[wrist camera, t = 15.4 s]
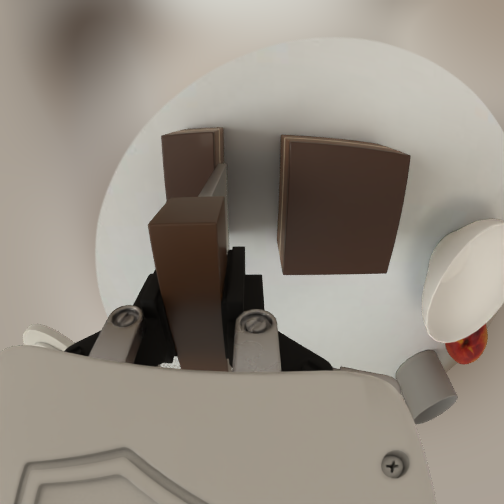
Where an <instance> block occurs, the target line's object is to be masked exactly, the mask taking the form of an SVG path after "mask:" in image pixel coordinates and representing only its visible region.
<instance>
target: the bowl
mask: <svg viewBox="0 0 504 504" xmlns="http://www.w3.org/2000/svg"><path fill="white" fill-rule="evenodd" d="M503 303H504V221H502V220H499V219H485V220H479V221H475V222H473V223H471V224H469V225H467V226H465V227H463V228H461V229H459V230H458V231H454V232H452V233H450V234H448V235H447V236H445V237H444V238H443V239H442V240H441V241H440V242H439V243H438V245H437V246H436V248H435V249H434V251H433V253H432V255H431V258H430V261H429V266H428V273H427V276H426V280H425V284H424V289H423V293H422V316H423V321H424V324H425V327H426V330H427V332H428V334H429V336H430V337H431V338H433V339H434V340H435V341H437V342H441V343H450V342H455V341H458V340H461V339H463V338H466V337H467V336H469V335H471V334H472V333H474V332H476V331H477V330H478V329H480V328H481V327H482V326H483V325H484V324H486V323H487V322H488V321H489V320H490V319H491V318H492V317H493V316H494V314H495V313H496V312H497V311H498V310H499V309H500V307H501V306H502V304H503Z"/></svg>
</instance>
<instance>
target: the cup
mask: <svg viewBox="0 0 504 504" xmlns="http://www.w3.org/2000/svg"><path fill="white" fill-rule="evenodd" d="M396 379H397V382H398V383H399V385H400V389H401V392H402V395H403V397H404V400H405V403H406V405H407V407H408V409H409V411H410V413H411V415H412V418H413V420H414V422H415V424H420V423H424V422H427V421H429V420H431V419H433V418H435V417H437V416H439V415H440V414H442V413H443V412H445V411H446V410H447V409H449V408H450V407H451V406H452V405H453V404H454V403H455V402H456V400H457V398H458V396H457V394H456V392H455V390H454V388H453V386H452V384H451V382H450V380H449V378H448V376H447V374H446V372H445V370H444V368H443V366H442V364H441V362H440V360H439V358H438V357H437V355H436V353H435V352H434V351H431V350H426V351H423V352H420V353H418V354H416V355H414V356H412V357H411V358H409V359H408V360H407V361H406V362H404V363H403V364H402V365H401V366H400V367H399V369H398V370H397V372H396Z"/></svg>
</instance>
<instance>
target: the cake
mask: <svg viewBox="0 0 504 504" xmlns="http://www.w3.org/2000/svg"><path fill="white" fill-rule="evenodd" d="M409 164H410V155H408V154H405V153H402V152H400V151H397V150H394V149H391V148H388V147H385V146H382V145H379V144H375V143H368V142H361V141H353V140H344V139H335V138H324V137H311V136H295V135H281V150H280V181H279V207H278V229H277V243H278V249H279V254H280V261H281V267H282V272H283V275H330V274H379V273H387V269H388V266H389V262H390V259H391V255H392V251H393V247H394V243H395V239H396V235H397V230H398V226H399V221H400V217H401V212H402V207H403V202H404V196H405V190H406V185H407V178H408V171H409Z"/></svg>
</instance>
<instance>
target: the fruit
mask: <svg viewBox="0 0 504 504" xmlns="http://www.w3.org/2000/svg"><path fill="white" fill-rule="evenodd" d="M487 339H488V334H487V329H486V324H484V325H483V326H482V327H481V328H480V329H478V330H477V331H476V332H474V333H472V334H471V335H469V336H467V337H466V338H463V339H461V340H458V341H455V342H450V343H445V346H446V349H447V351H448V353H449V355H450V356H451V357H452V358H453V359H454V360H455V361H456V362H458V363H460V364H469V363H471V362H474V361H475V360H477V359H478V358H479V356H480V355H481V354H482V353H483V351H484V349H485V347H486V344H487Z"/></svg>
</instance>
